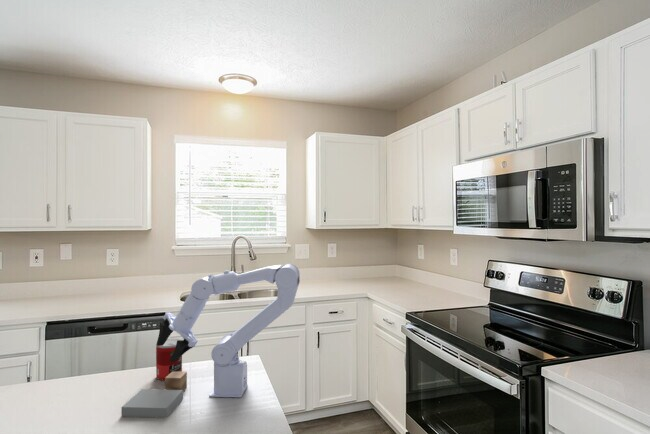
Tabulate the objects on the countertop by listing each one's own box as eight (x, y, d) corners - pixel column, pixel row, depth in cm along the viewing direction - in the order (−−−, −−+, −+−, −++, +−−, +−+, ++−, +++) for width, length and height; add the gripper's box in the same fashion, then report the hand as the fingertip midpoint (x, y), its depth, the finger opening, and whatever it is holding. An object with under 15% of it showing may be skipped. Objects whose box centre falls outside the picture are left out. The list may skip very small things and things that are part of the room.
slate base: (183, 398, 106) (183, 389, 106) (166, 417, 96) (166, 407, 96) (141, 397, 106) (141, 389, 106) (121, 416, 96) (121, 407, 96)
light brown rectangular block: (186, 388, 113) (186, 371, 113) (180, 395, 108) (180, 378, 108) (172, 387, 113) (172, 371, 113) (165, 394, 108) (165, 377, 108)
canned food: (173, 381, 117) (173, 347, 117) (150, 379, 118) (150, 345, 118) (186, 372, 124) (186, 339, 124) (165, 370, 126) (165, 337, 126)
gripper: (165, 299, 111) (142, 338, 111) (192, 328, 104) (168, 370, 104) (183, 300, 117) (161, 337, 117) (210, 328, 110) (187, 367, 110)
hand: (166, 352), depth 111 cm, fingers open, 7 cm apart
